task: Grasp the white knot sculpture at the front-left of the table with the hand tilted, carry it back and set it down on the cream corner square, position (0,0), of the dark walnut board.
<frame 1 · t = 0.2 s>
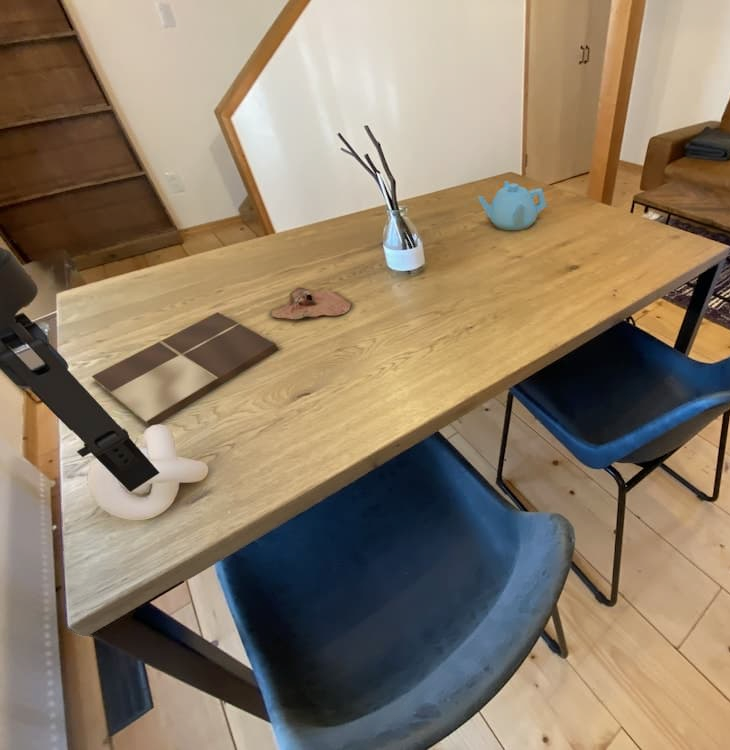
hand: (112, 449, 45), 18 cm above the table, tool pointing down, fingers open, 13 cm apart
board: (190, 365, 83), on the table
white knot sculpture: (175, 490, 63), on the table
clay slab: (313, 306, 97), on the table
teapot: (512, 222, 129), on the table
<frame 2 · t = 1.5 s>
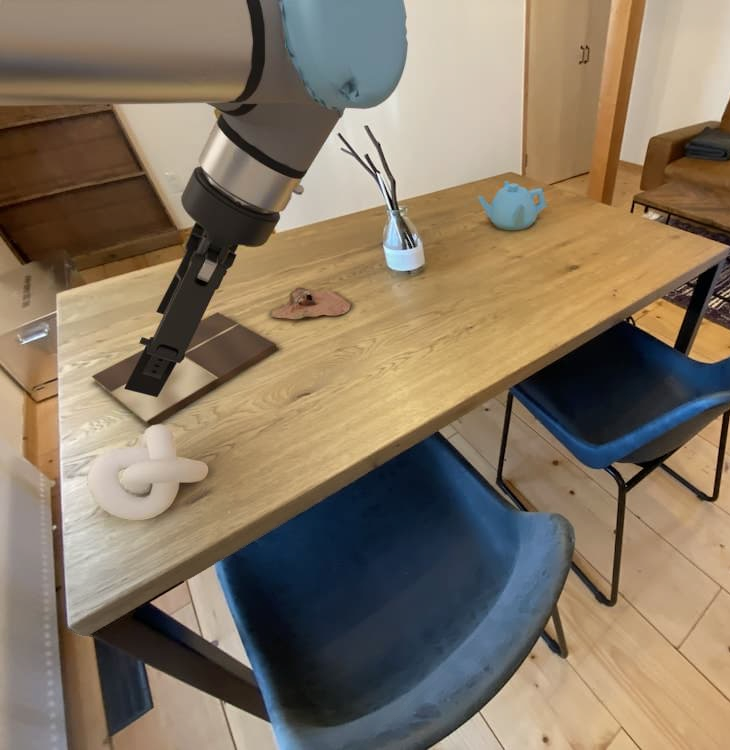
hand: (157, 349, 48), 24 cm above the table, tool tilted 45°, fingers open, 13 cm apart
nothing on the table moved.
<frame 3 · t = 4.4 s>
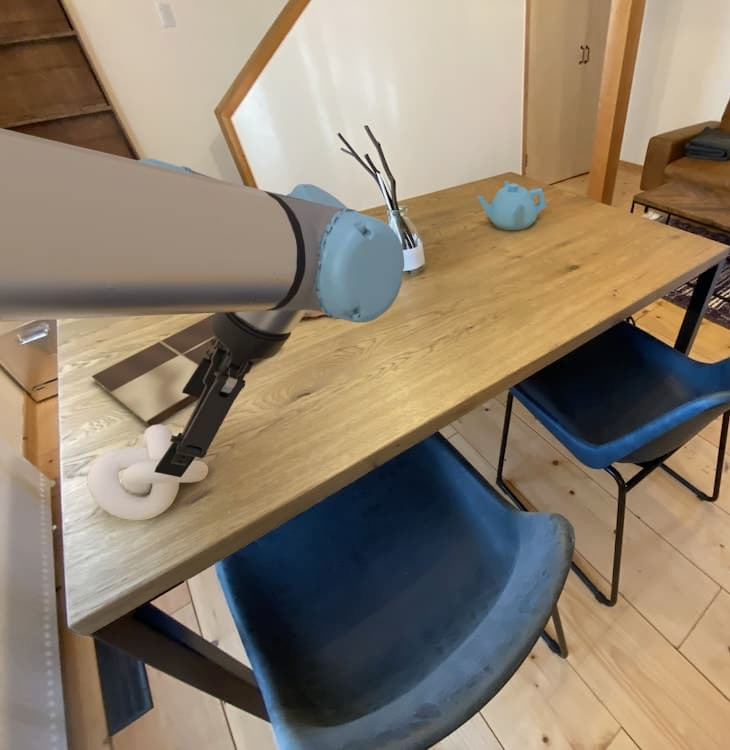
hand: (181, 430, 56), 11 cm above the table, tool tilted 45°, fingers open, 13 cm apart
nothing on the table moved.
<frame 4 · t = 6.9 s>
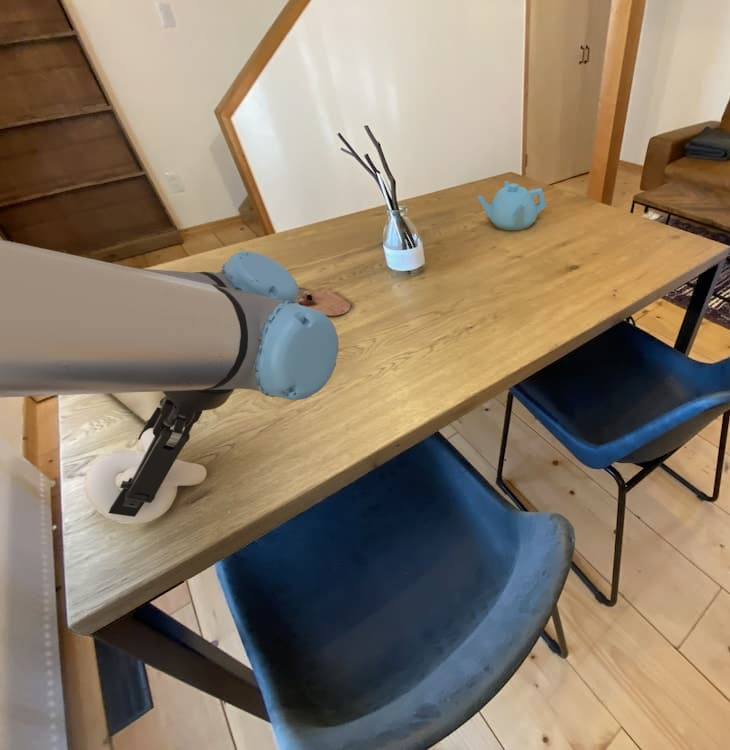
hand: (137, 473, 59), 4 cm above the table, tool tilted 45°, fingers closed on white knot sculpture, 11 cm apart
white knot sculpture: (173, 493, 62), on the table, touching gripper
everything else where it was.
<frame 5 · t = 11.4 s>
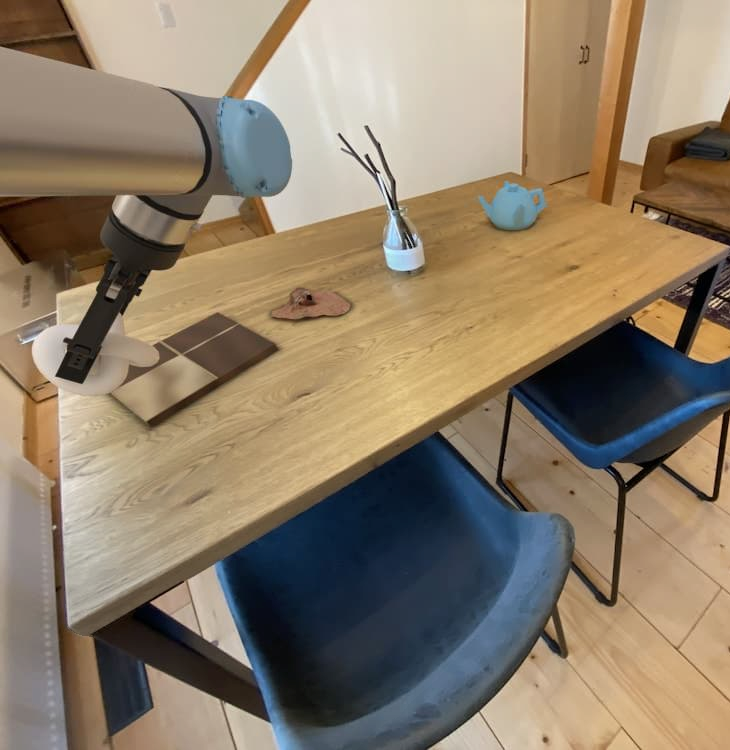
hand: (88, 350, 60), 16 cm above the table, tool tilted 45°, fingers closed on white knot sculpture, 11 cm apart
white knot sculpture: (126, 375, 63), point 12 cm above the table, touching gripper
everything else where it was.
when the fingers open (6 cm above the table, at t = 16.0 s): white knot sculpture stays where it is, resting on board.
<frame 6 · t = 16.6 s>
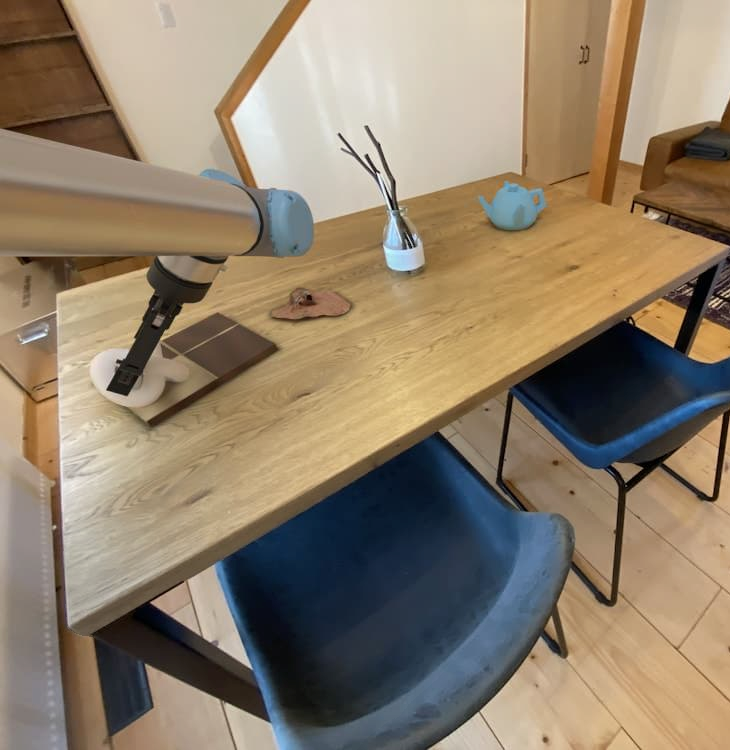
hand: (131, 364, 72), 7 cm above the table, tool tilted 45°, fingers open, 13 cm apart
white knot sculpture: (162, 389, 76), point 2 cm above the table, touching board
everything else where it was.
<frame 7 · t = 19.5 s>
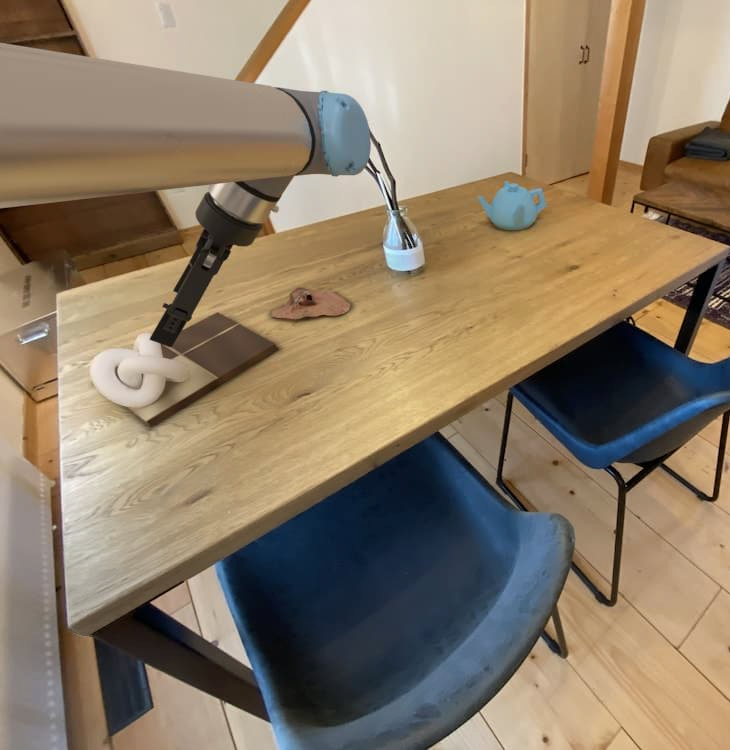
hand: (172, 316, 68), 15 cm above the table, tool tilted 45°, fingers open, 13 cm apart
nothing on the table moved.
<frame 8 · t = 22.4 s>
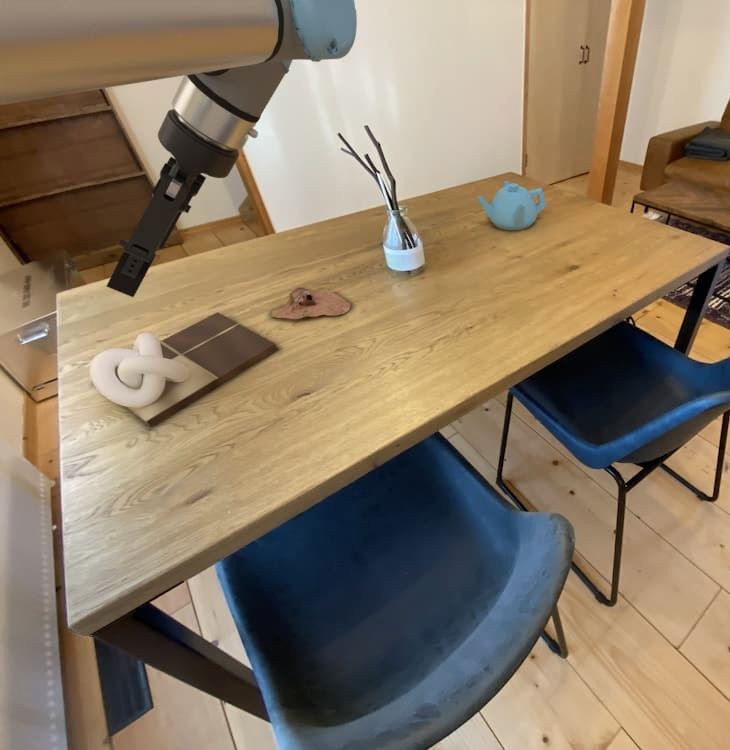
hand: (137, 265, 58), 26 cm above the table, tool tilted 45°, fingers open, 13 cm apart
nothing on the table moved.
at the end: white knot sculpture inside the target area on the board (2.0 cm from its centre), point 1.5 cm above the board's base; white knot sculpture tilted 0° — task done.
